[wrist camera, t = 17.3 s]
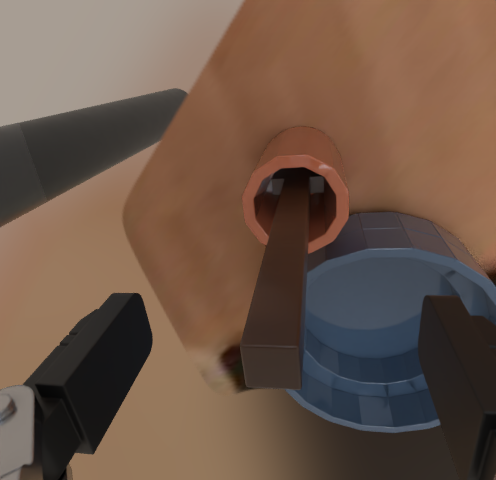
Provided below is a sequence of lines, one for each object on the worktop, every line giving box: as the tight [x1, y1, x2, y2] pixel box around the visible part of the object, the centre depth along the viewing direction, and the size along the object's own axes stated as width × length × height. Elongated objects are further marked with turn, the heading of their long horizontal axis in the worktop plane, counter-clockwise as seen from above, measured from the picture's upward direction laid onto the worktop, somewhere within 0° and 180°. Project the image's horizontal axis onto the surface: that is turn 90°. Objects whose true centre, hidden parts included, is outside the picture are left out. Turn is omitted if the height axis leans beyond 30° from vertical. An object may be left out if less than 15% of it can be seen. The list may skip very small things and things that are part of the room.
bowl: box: [284, 212, 496, 433], centre depth 26 cm, size 15×15×6 cm
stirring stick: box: [240, 167, 325, 390], centre depth 17 cm, size 3×1×18 cm, turn 96°
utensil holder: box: [242, 127, 349, 254], centre depth 22 cm, size 5×5×8 cm
